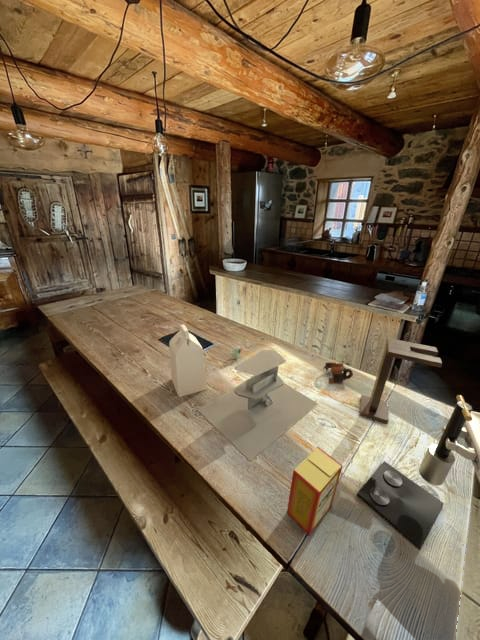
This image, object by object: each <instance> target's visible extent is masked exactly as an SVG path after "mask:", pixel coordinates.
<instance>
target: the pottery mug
mask: <svg viewBox="0 0 480 640" xmlns="http://www.w3.org/2000/svg"><path fill="white" fill-rule="evenodd" d="M329 369H330V372H331V374H332V377H328V383H329V384H336V385H341V384H343V383H344V381H346V380H350V379H351V378H353V376H354V373H353V370H352V369H350V368H346V367H345V366H344V363H342V362H338V363H336V362H325V365H324V366H323V368H322V370H325V371H329ZM347 373H348V375H347Z"/></svg>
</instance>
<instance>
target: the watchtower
mask: <svg viewBox="0 0 480 640" xmlns="http://www.w3.org/2000/svg"><path fill="white" fill-rule="evenodd" d="M286 362H287V359H285V358H284V357H283V356H282V355H281V354H280V353H279V352H278V351H276V350H274V349H262V350H260V351H258V352H256V353H255V354H254V355H252V356H250V357H248V358H247V359H245V360H244V361H242V362H241V363H239V364H237V365H236V366H234V370H236V372H239V373H242V374H246V375H251V377H250V378H248V379H246V380H245V381H244V382H241V383H240V384H238V385H237V386H234V387H233V388H231V389H230V390H227V391H226V392H224V393H223V394H221V395H219V396H217V397H215V398H214V399H212V400H210V401H208V402H207V403H205V404H203V405H202V406H200V407H198V408H196V410H197V412H199V414H201V415H202V417H204V418H205V419H206V420H207V421H208V423H210V425H212V426H213V427H214V428H215V429H216V430H217V432H219V433H220V434H221V435H222V436H223V437H224V438H226V439H227V441H229V442H230V443H231V444H232V446H234V447H235V448H236V449H237V450H238V452H240V453H241V454H242V455H243V456H244V457H245V458H246V459H247V460H248V461H249V462H252V461H253V460H254V459H255V458H257V457H258V456H259V455H260V454H261V453H263V452H264V451H265V450H266V449H267V448H268V447H270V445H273V443H274V442H276V441H277V440H278V439H279V438H280V437H281V436H283V435H284V434H285V433H286V432H288V430H290V429H291V428H292V427H293V426H294V425H296V423H298V422H299V421H300V420H302V418H303V417H305V416H307V414H308V413H310V412H311V411H312V410H313V409H315V407H316V406H318V405H319V403H318V402H317V401H316V400H313V399H311V398H310V397H308V396H306V395H305V394H303V393H302V392H300V391H299V390H297V389H295V388H293V387H292V386H290V385H289V384H287V383H285V382H284V380H283V379H282V378H281V377H280V376H279V374H278V373H279V366H280V365H283V364H284V363H286Z"/></svg>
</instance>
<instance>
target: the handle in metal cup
mask: <svg viewBox="0 0 480 640" xmlns="http://www.w3.org/2000/svg"><path fill="white" fill-rule="evenodd" d="M455 398H456V401H457V402H456V404H455V405H454V408H453V410H452V413H451V415H450V417H449V419H448V422H447V424H446V425H445V426H446V428H445V430H444V432H443V434H441V436H440V438H439V441H438V442H437V443H432V444H431V443H430V444H429V446H428V447H427V450H426V452H425V454H424V457H423V458H422V461H421V462H420V465H419V467H418V473H419V475H420V476H421V478H422V479H423V480H424V481H426V482H427V483H429V484H430V485H433V486H436V487H437V486H438V487H439V486H442V485H443V484H444V482H445V481H446V479H447V477H448V475H449V473H450V471H451V469H452V467H453V465H454V463H455V462H456V457H455V455H454V453H453V452H452V450H450V449H447V448H446V444H445V441H446V439H448V438H449V439H452V440H456V441H458V439H459V437H458V436H459V434H460V433H461V431H462V429H463V427H464V425H465V423H466V421H471V420H472V416H471V414H470V413H471V411H473V407H472V405H471V404H469V403H467V402H466V401H465V398H464V396H463V395H462V394H457V395H456V396H455Z"/></svg>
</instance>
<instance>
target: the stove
mask: <svg viewBox="0 0 480 640" xmlns="http://www.w3.org/2000/svg"><path fill="white" fill-rule="evenodd" d="M356 497H358V498H359V500H361V501H362V502H363V503H365V504H366V505H367V506H368V507H369V508H370V509H372V510H373V511H374V512H375V513H376V514H377V515H379V517H381V518H382V519H383V520H384V521H385V522H386V523H388V524H389V525H390V526H391V527H392V528H393V529H395V530H396V531H397V532H398V533H399V534H400V535H402V537H404V538H405V539H406V540H407V541H409V542H410V543H411V544H412V545H413V546H414V547H416V548H417V549H418V550H421V548H422V546H423V544H424V542H425V541H426V539H427V536H428V534H429V533H430V531H431V529H432V527H433V525H434V523H435V521H436V519H437V517H438V516H439V514H440V512H441V510H442V508H443V506H444V502H443V501H441V500H440V499H439V498H437V497H436V496H434V495H433V494H431V493H430V492H429V491H428V490H426V489H424V488H423V487H422V486H420V485H419V484H417V483H416V482H415V481H413V480H412V479H410V478H409V477H408V476H406V475H405V474H403V473H402V472H401V471H399V470H398V469H396V468H395V467H394V466H392V465H391V464H389V463H388V462H386V461H385V460H384V461H382V463H381V464H380V465H379V466H378V467H377V469H376V470H375V471H374V473H372V474H371V476H370V477H369V478H368V480H367V481H366V482H365V483H364V484H363V486H362V487H361V488H360V489H359V490H358V492H357V493H356Z"/></svg>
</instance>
